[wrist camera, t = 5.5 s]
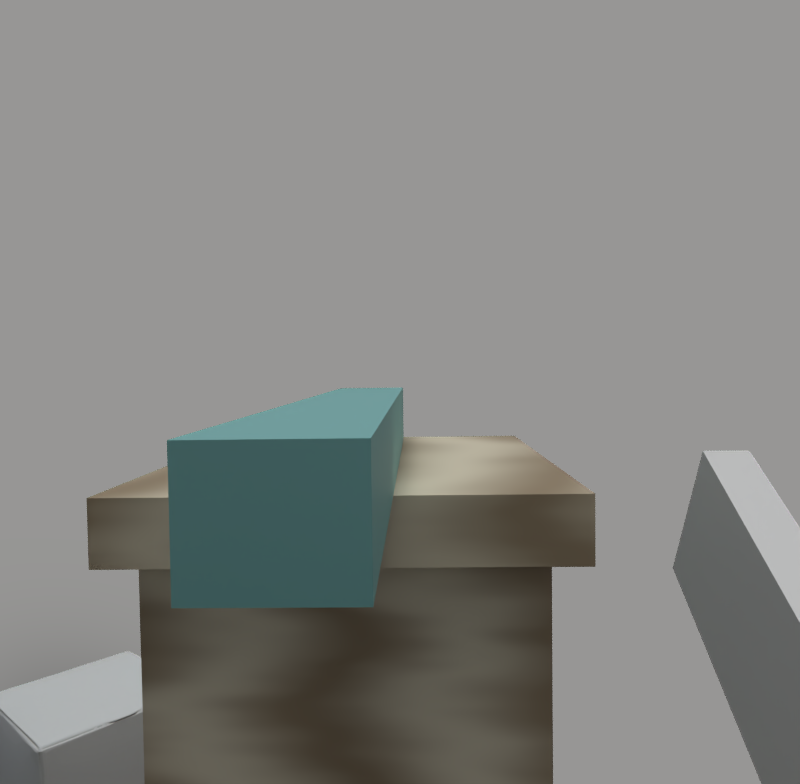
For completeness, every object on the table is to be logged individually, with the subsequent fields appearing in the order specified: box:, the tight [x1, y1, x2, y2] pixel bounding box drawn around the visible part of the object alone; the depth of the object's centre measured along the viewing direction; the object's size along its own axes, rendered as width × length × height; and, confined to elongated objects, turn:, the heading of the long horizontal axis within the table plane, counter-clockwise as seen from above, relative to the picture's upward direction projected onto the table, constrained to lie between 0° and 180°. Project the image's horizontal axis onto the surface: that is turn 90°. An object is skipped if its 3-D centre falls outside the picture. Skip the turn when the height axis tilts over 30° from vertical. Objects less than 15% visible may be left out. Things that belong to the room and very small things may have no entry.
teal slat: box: [167, 388, 403, 608], centre depth 22 cm, size 3×24×2 cm, turn 179°
